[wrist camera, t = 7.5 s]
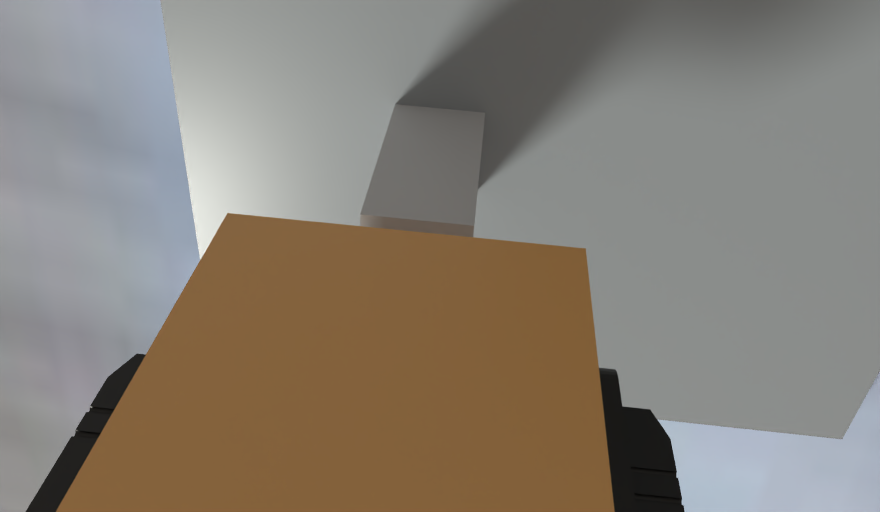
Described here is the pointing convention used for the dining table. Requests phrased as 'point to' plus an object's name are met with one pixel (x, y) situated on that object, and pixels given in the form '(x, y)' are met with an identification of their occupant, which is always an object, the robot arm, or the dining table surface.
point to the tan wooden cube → (362, 380)
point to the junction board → (583, 167)
